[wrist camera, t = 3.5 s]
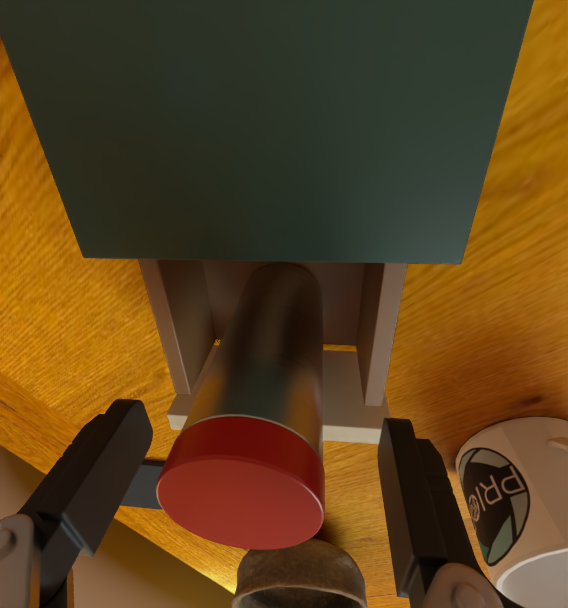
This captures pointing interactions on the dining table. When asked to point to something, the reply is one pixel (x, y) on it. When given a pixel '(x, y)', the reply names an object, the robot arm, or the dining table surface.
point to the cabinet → (267, 122)
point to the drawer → (336, 330)
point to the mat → (144, 486)
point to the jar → (256, 423)
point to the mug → (521, 507)
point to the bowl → (299, 578)
